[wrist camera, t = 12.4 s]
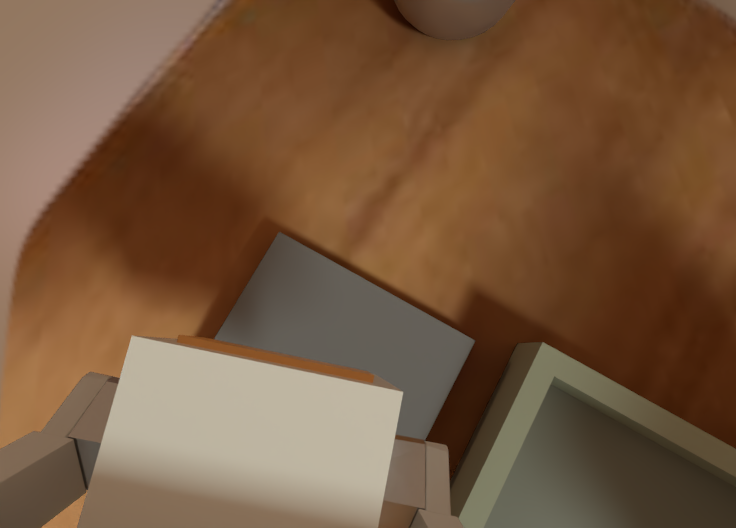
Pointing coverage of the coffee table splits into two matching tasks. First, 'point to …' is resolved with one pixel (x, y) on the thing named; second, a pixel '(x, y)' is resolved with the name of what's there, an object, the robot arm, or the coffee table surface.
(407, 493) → the robot arm
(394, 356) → the rubber mat
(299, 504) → the block
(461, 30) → the plastic bottle
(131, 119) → the coffee table surface
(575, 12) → the coffee table surface
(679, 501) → the equipment case
